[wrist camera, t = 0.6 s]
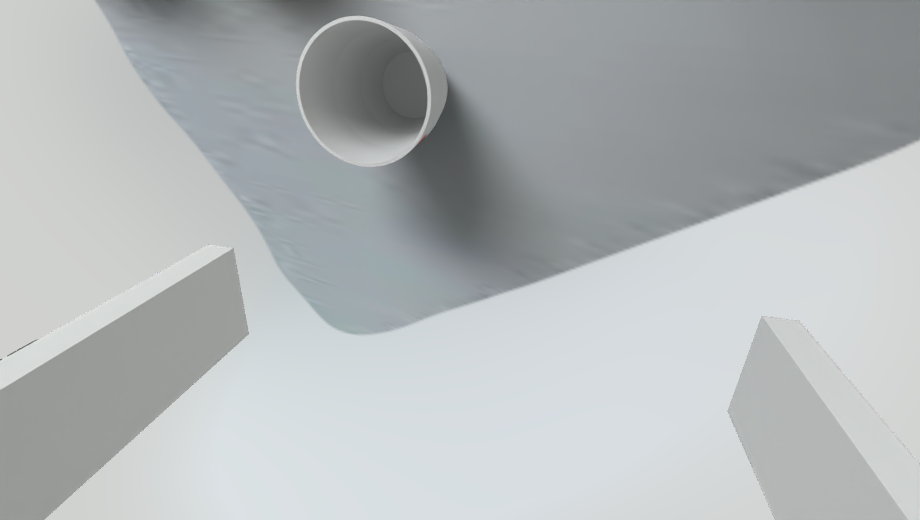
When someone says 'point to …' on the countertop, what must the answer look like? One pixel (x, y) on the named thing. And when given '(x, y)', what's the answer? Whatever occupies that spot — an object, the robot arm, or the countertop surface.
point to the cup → (369, 90)
